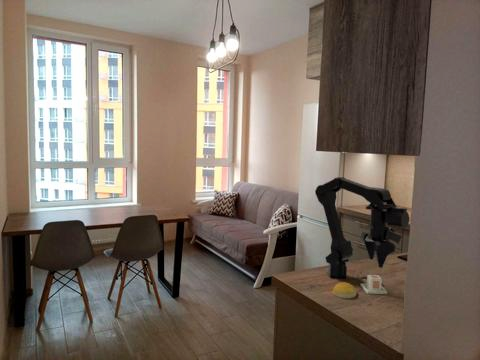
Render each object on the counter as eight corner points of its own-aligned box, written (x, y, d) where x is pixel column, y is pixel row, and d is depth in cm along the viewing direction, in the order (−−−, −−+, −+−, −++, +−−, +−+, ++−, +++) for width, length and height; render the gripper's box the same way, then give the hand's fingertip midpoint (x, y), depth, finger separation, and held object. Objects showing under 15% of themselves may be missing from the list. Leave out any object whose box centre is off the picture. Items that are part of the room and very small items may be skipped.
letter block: (370, 291, 133) (371, 278, 133) (366, 287, 137) (367, 274, 137) (381, 291, 133) (381, 278, 133) (376, 287, 137) (377, 274, 137)
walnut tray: (363, 285, 139) (364, 282, 139) (357, 278, 147) (357, 276, 147) (382, 286, 139) (382, 283, 139) (375, 279, 147) (375, 276, 147)
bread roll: (330, 297, 129) (331, 286, 128) (335, 288, 137) (336, 278, 136) (354, 302, 125) (354, 291, 125) (357, 292, 133) (358, 282, 133)
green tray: (367, 294, 131) (367, 291, 131) (360, 286, 139) (360, 283, 139) (387, 294, 131) (387, 291, 131) (379, 287, 139) (379, 284, 139)
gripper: (411, 228, 123) (408, 272, 124) (389, 218, 142) (387, 256, 143) (379, 228, 123) (376, 271, 125) (361, 217, 142) (359, 255, 143)
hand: (375, 263), depth 134 cm, fingers open, 9 cm apart
